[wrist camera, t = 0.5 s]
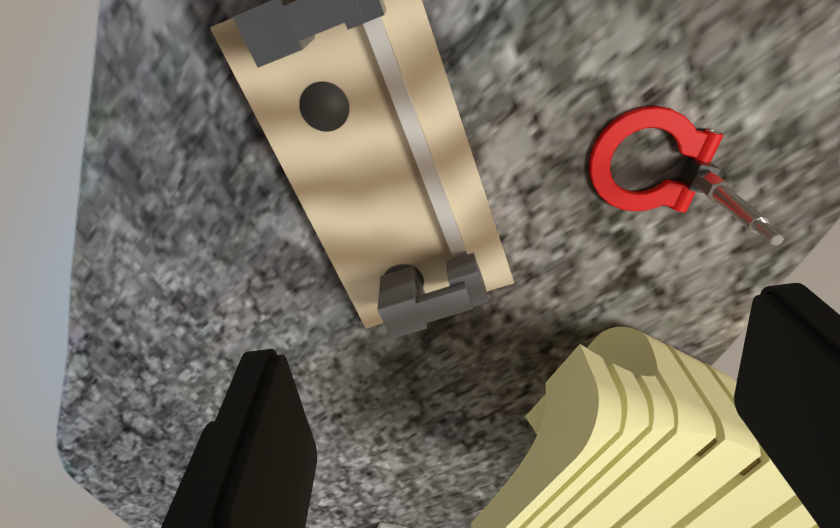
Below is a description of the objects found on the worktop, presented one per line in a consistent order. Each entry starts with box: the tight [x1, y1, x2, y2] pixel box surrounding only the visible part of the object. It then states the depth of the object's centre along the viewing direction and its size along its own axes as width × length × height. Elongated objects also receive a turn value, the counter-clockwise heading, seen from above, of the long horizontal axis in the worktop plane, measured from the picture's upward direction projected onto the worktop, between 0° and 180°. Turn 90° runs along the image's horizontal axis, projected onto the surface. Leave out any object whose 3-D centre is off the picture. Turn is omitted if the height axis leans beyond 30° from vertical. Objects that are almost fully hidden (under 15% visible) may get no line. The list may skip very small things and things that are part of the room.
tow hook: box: [589, 106, 784, 246], centre depth 38 cm, size 8×13×9 cm
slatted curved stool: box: [471, 327, 819, 528], centre depth 48 cm, size 30×16×18 cm, turn 61°
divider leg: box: [233, 0, 386, 68], centre depth 34 cm, size 3×8×5 cm, turn 110°
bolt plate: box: [210, 0, 514, 339], centre depth 40 cm, size 27×14×7 cm, turn 20°
